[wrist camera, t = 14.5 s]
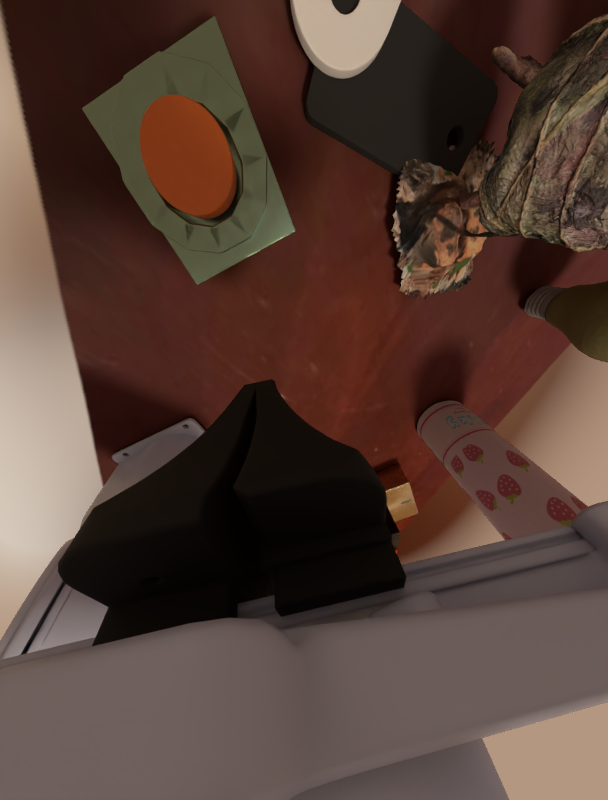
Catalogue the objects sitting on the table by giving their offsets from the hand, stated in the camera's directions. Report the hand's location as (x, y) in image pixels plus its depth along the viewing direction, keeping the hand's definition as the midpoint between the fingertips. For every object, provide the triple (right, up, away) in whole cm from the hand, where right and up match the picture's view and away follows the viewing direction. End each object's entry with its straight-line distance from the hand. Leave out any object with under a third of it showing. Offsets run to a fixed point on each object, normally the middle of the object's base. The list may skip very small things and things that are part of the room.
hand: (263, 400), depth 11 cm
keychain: (+7, +17, +3) cm, 18 cm away
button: (-3, +11, +1) cm, 11 cm away
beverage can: (+18, -2, +17) cm, 25 cm away
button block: (-4, +13, +3) cm, 14 cm away
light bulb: (+22, +9, +11) cm, 26 cm away
